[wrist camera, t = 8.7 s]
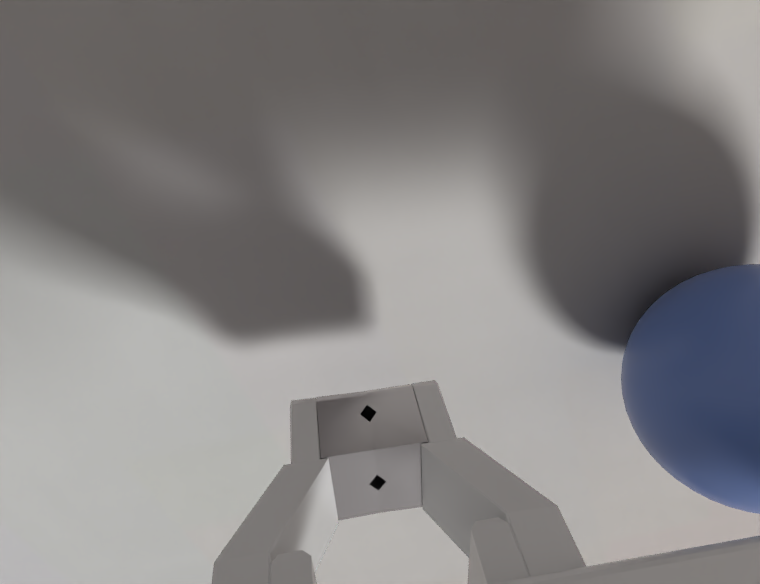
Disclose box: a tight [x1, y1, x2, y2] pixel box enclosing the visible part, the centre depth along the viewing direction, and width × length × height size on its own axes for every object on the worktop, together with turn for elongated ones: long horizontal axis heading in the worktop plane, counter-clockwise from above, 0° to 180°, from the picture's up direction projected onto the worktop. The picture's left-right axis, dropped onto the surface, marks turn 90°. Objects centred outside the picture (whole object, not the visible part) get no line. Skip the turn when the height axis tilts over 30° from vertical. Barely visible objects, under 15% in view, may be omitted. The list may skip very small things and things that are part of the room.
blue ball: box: [621, 264, 760, 514], centre depth 12 cm, size 5×5×5 cm
